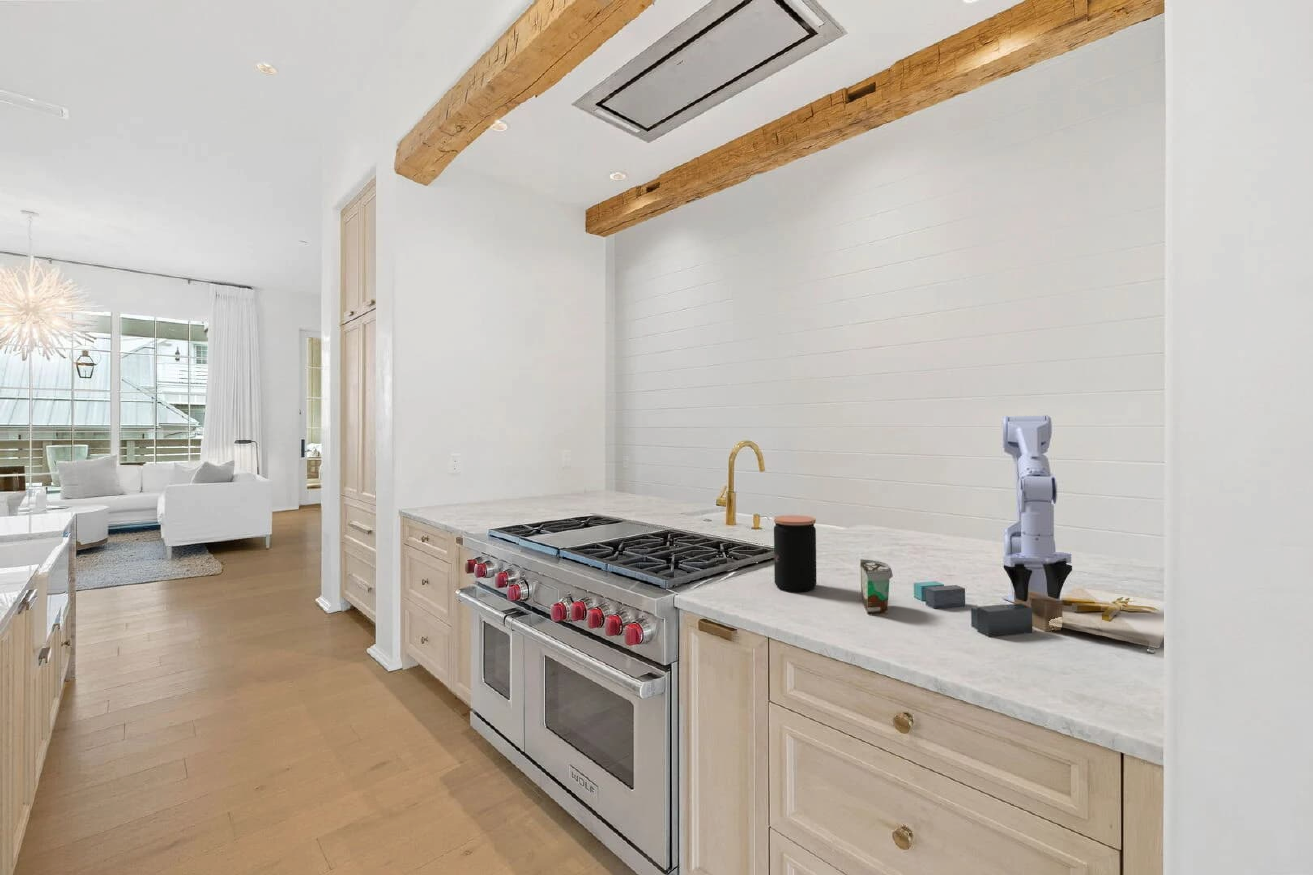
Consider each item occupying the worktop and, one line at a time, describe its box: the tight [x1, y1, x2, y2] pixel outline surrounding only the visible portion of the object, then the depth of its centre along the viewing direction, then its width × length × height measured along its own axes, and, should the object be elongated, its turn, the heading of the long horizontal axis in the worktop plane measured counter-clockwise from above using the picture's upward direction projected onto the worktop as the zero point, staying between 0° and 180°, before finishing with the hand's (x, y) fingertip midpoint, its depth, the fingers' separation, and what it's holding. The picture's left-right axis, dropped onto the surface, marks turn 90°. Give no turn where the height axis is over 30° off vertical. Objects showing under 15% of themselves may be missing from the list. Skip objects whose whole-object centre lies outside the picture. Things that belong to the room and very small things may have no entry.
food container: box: [859, 559, 893, 615], centre depth 134 cm, size 12×6×10 cm, turn 168°
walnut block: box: [1013, 590, 1063, 633], centre depth 122 cm, size 4×8×6 cm, turn 10°
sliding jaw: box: [913, 580, 966, 609], centre depth 139 cm, size 8×9×4 cm
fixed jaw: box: [970, 603, 1033, 638], centre depth 119 cm, size 10×6×5 cm, turn 100°
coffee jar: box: [773, 514, 817, 593], centre depth 153 cm, size 11×11×18 cm
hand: (1037, 598), depth 122 cm, fingers open, 7 cm apart
